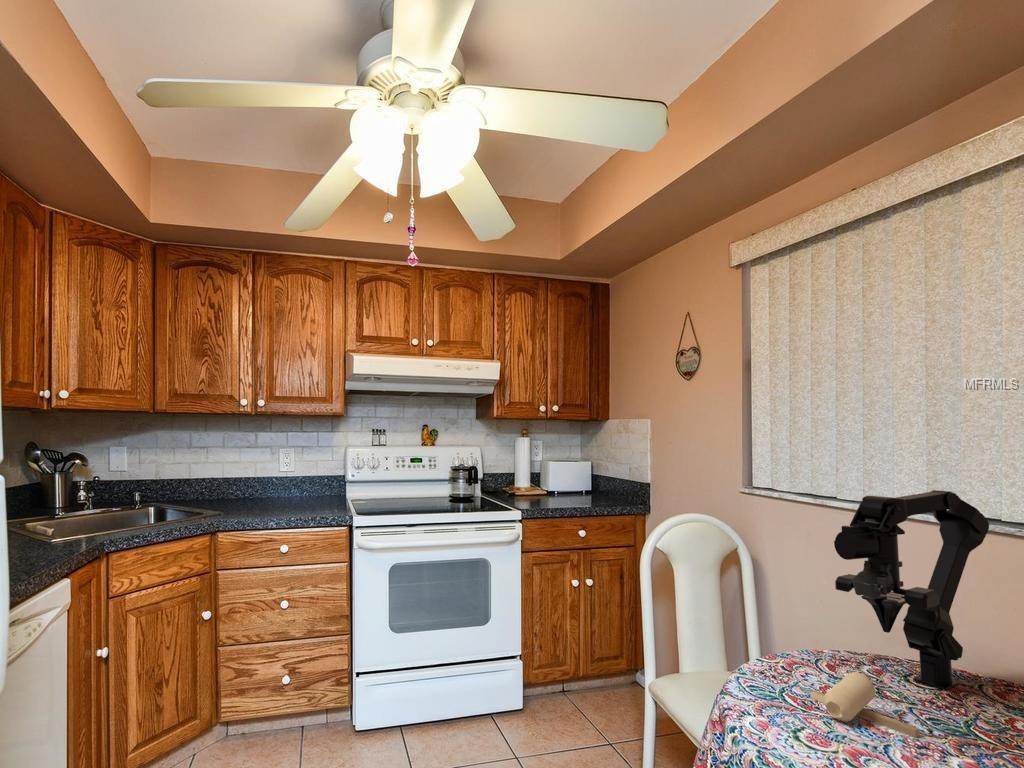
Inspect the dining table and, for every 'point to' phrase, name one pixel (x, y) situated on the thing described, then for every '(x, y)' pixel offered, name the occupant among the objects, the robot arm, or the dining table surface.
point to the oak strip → (877, 718)
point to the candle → (849, 696)
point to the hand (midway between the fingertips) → (886, 632)
